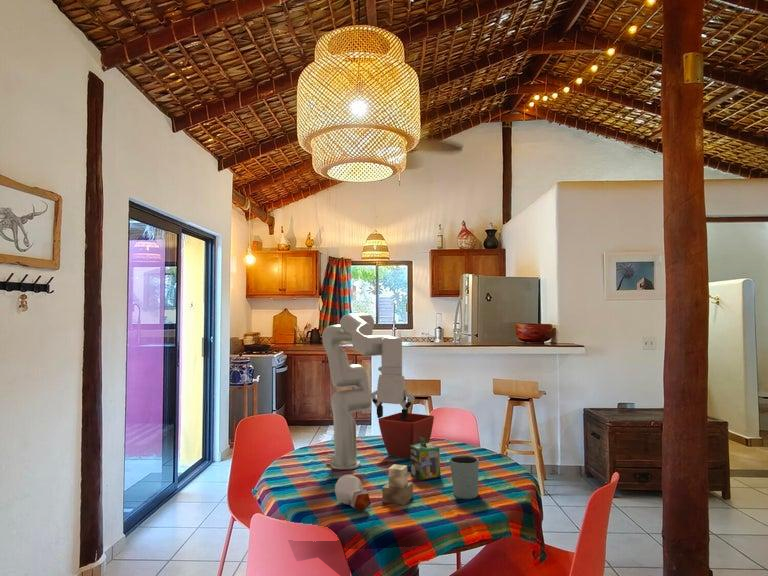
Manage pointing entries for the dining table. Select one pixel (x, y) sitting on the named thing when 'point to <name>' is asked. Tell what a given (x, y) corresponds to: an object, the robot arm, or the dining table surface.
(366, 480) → the dining table surface
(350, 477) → the potion bottle
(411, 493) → the tan square block
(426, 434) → the plant pot
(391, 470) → the beech block
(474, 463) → the grey embossed cup
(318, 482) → the dining table surface
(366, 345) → the robot arm
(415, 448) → the chalk box
